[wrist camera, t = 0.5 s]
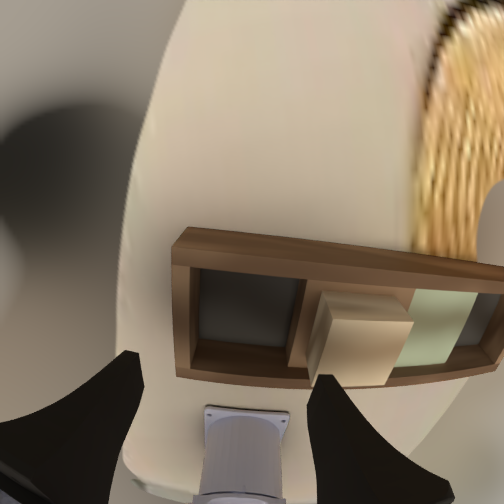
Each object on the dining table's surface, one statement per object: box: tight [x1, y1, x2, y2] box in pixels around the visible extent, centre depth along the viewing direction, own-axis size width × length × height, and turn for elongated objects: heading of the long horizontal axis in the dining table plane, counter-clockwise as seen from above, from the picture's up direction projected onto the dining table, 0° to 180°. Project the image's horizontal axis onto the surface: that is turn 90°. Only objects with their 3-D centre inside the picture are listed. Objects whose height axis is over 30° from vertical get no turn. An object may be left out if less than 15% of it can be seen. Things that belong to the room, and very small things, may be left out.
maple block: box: [305, 291, 414, 387], centre depth 16 cm, size 5×5×3 cm
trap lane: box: [171, 227, 504, 389], centre depth 18 cm, size 9×29×4 cm, turn 84°
